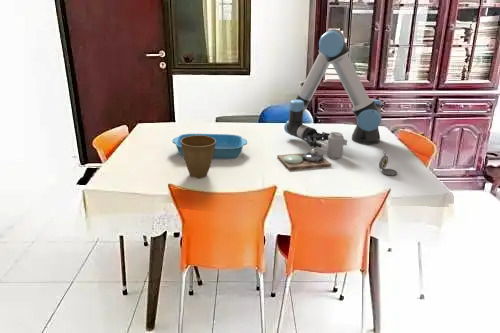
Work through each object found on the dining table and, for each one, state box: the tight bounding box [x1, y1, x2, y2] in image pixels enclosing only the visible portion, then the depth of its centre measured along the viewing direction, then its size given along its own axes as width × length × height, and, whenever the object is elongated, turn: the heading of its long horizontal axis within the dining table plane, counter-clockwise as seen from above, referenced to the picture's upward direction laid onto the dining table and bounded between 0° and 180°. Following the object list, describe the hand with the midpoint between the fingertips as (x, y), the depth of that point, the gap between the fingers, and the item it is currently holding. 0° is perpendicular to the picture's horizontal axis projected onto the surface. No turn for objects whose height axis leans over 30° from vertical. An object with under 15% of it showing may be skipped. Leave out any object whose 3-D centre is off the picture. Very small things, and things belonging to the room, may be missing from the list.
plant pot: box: [181, 135, 216, 179], centre depth 187 cm, size 15×15×16 cm
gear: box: [302, 148, 325, 163], centre depth 207 cm, size 11×11×5 cm
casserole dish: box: [172, 133, 248, 160], centre depth 215 cm, size 37×22×7 cm, turn 93°
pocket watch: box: [378, 151, 398, 176], centre depth 196 cm, size 8×8×10 cm
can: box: [326, 131, 345, 160], centre depth 213 cm, size 8×8×12 cm
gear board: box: [276, 151, 332, 171], centre depth 207 cm, size 21×16×2 cm
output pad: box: [283, 154, 303, 164], centre depth 205 cm, size 9×9×1 cm
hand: (336, 145), depth 212 cm, fingers open, 13 cm apart
